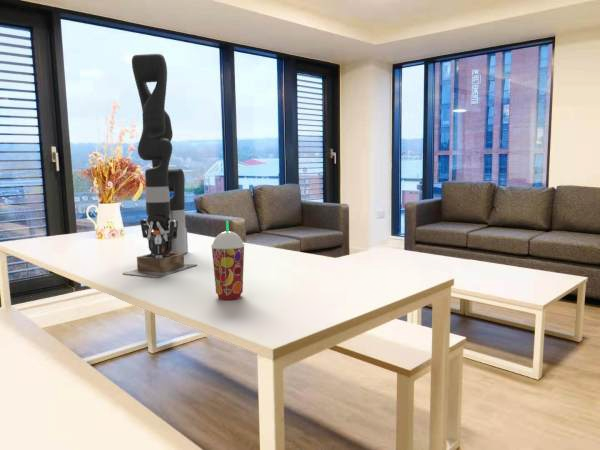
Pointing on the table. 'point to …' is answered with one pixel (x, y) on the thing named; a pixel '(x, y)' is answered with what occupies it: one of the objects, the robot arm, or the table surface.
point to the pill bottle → (158, 245)
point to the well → (159, 265)
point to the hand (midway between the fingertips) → (160, 251)
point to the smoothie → (228, 264)
